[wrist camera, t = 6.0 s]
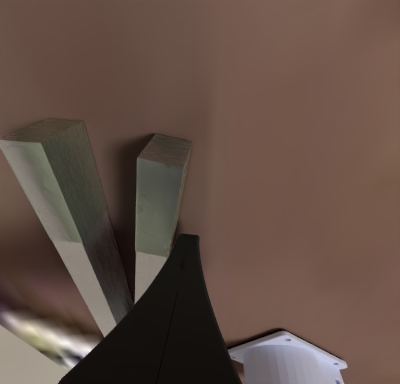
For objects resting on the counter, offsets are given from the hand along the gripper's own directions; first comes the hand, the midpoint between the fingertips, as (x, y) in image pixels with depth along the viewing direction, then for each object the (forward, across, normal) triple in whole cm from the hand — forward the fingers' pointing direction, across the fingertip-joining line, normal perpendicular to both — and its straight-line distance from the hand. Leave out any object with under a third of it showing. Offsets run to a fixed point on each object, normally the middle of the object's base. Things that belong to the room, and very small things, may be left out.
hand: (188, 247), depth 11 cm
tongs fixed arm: (+1, +5, +6) cm, 8 cm away
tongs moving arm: (+1, +3, +5) cm, 6 cm away
